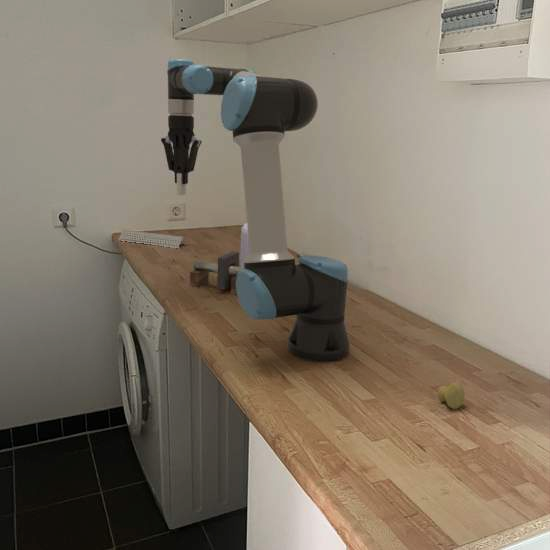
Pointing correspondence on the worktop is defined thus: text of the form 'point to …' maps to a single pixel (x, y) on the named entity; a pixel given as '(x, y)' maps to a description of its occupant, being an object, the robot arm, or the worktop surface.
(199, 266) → the pipe
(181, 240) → the corner bead
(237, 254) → the collar
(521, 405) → the worktop surface
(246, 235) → the soap bottle
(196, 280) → the saddles
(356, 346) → the worktop surface
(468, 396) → the worktop surface
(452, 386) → the knob
